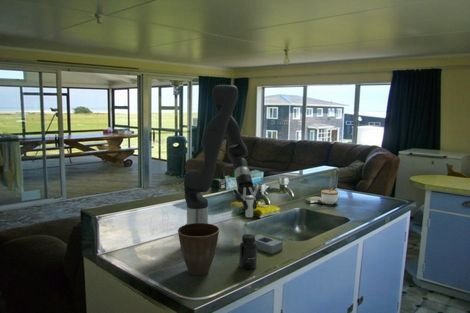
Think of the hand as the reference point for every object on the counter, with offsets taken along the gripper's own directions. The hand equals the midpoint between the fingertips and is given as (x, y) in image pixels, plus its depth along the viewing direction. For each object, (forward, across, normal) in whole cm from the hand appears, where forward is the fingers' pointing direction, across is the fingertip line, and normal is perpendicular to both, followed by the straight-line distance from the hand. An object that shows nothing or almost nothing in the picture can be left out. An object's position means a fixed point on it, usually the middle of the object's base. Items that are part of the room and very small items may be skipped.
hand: (250, 208), depth 164 cm
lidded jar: (-27, +72, +47) cm, 90 cm away
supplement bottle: (+30, -10, -8) cm, 32 cm away
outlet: (+18, +3, +3) cm, 18 cm away
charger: (+1, 0, +4) cm, 5 cm away
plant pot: (+29, -29, -8) cm, 42 cm away
